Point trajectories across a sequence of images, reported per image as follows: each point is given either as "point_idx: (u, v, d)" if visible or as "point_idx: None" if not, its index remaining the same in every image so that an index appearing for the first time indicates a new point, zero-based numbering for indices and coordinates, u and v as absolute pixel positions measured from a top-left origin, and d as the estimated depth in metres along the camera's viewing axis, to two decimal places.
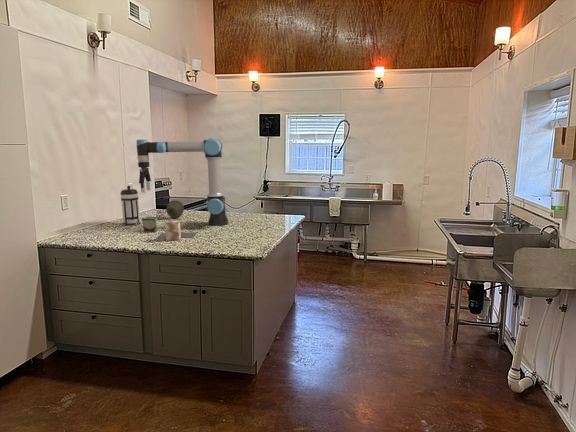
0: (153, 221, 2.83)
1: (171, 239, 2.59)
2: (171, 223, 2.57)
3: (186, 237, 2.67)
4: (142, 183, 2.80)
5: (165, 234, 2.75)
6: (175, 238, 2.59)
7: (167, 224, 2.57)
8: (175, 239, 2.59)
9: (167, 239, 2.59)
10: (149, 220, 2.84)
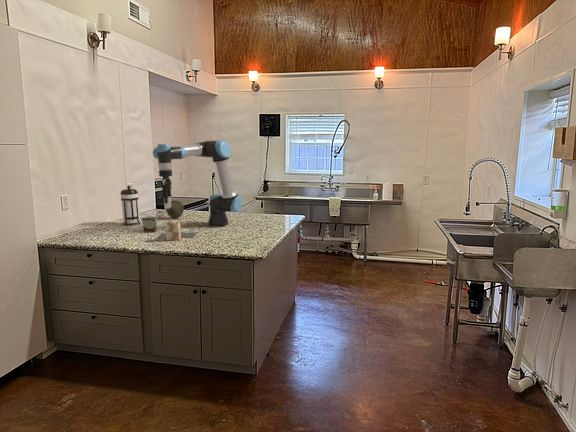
0: (153, 221, 2.83)
1: (171, 239, 2.59)
2: (171, 223, 2.57)
3: (186, 237, 2.67)
4: (166, 198, 2.43)
5: (165, 234, 2.75)
6: (175, 238, 2.59)
7: (167, 224, 2.57)
8: (175, 239, 2.59)
9: (167, 239, 2.59)
10: (149, 220, 2.84)
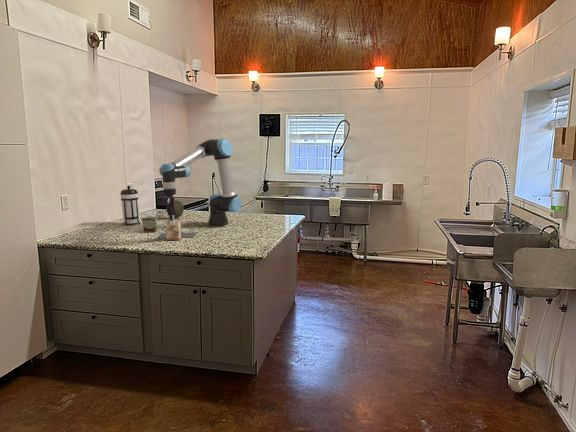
0: (153, 221, 2.83)
1: (171, 238, 2.59)
2: None
3: (186, 237, 2.67)
4: (171, 215, 2.55)
5: (165, 234, 2.75)
6: (175, 237, 2.59)
7: (167, 223, 2.58)
8: (175, 238, 2.59)
9: (167, 238, 2.59)
10: (149, 220, 2.84)
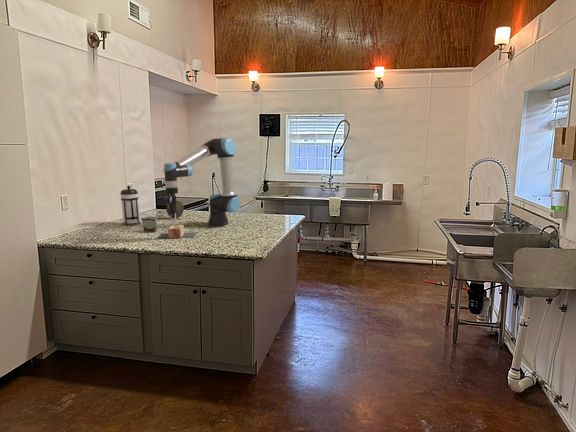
0: (153, 221, 2.83)
1: (173, 228, 2.65)
2: (177, 225, 2.75)
3: (186, 237, 2.67)
4: (173, 213, 2.61)
5: (165, 234, 2.75)
6: (176, 228, 2.66)
7: (173, 225, 2.74)
8: (177, 228, 2.65)
9: (169, 228, 2.65)
10: (149, 220, 2.84)
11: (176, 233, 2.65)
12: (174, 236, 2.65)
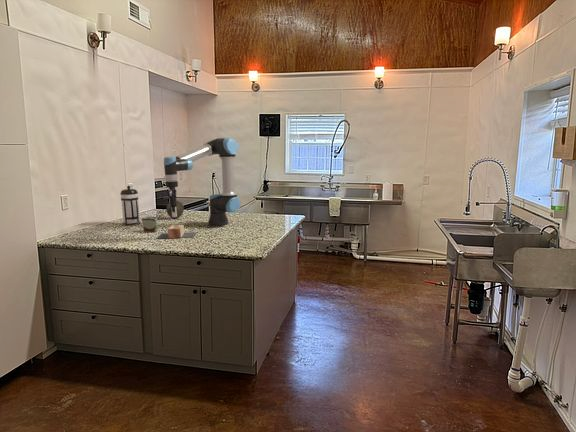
0: (153, 221, 2.83)
1: (173, 228, 2.65)
2: (177, 225, 2.75)
3: (186, 237, 2.67)
4: (173, 207, 2.62)
5: (165, 234, 2.75)
6: (176, 228, 2.66)
7: (173, 225, 2.74)
8: (177, 228, 2.65)
9: (169, 228, 2.65)
10: (149, 220, 2.84)
11: (176, 233, 2.65)
12: (174, 236, 2.65)
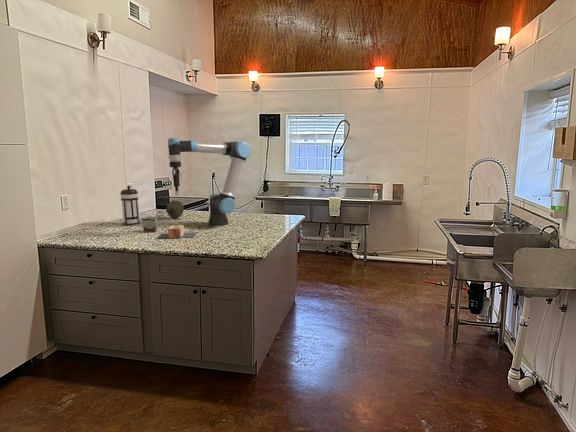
0: (153, 221, 2.83)
1: (173, 228, 2.65)
2: (177, 225, 2.75)
3: (186, 237, 2.67)
4: (177, 186, 2.74)
5: (165, 234, 2.75)
6: (176, 228, 2.66)
7: (173, 225, 2.74)
8: (177, 228, 2.65)
9: (169, 228, 2.65)
10: (149, 220, 2.84)
11: (176, 233, 2.65)
12: (174, 236, 2.65)
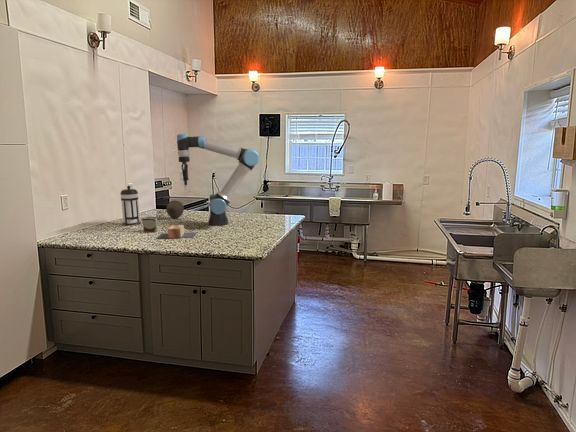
0: (153, 221, 2.83)
1: (173, 228, 2.65)
2: (177, 225, 2.75)
3: (186, 237, 2.67)
4: (186, 180, 2.86)
5: (165, 234, 2.75)
6: (176, 228, 2.66)
7: (173, 225, 2.74)
8: (177, 228, 2.65)
9: (169, 228, 2.65)
10: (149, 220, 2.84)
11: (176, 233, 2.65)
12: (174, 236, 2.65)
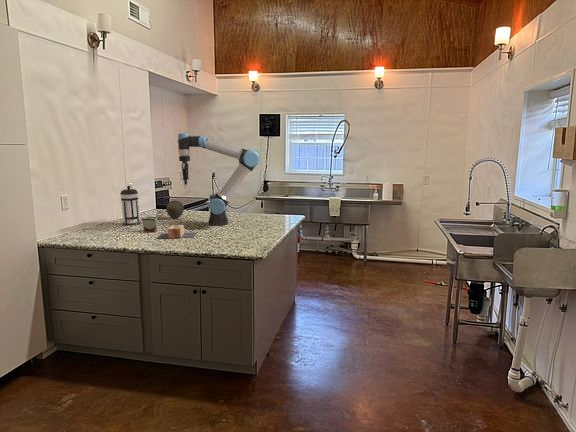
0: (153, 221, 2.83)
1: (173, 228, 2.65)
2: (177, 225, 2.75)
3: (186, 237, 2.67)
4: (186, 179, 2.87)
5: (165, 234, 2.75)
6: (176, 228, 2.66)
7: (173, 225, 2.74)
8: (177, 228, 2.65)
9: (169, 228, 2.65)
10: (149, 220, 2.84)
11: (176, 233, 2.65)
12: (174, 236, 2.65)
